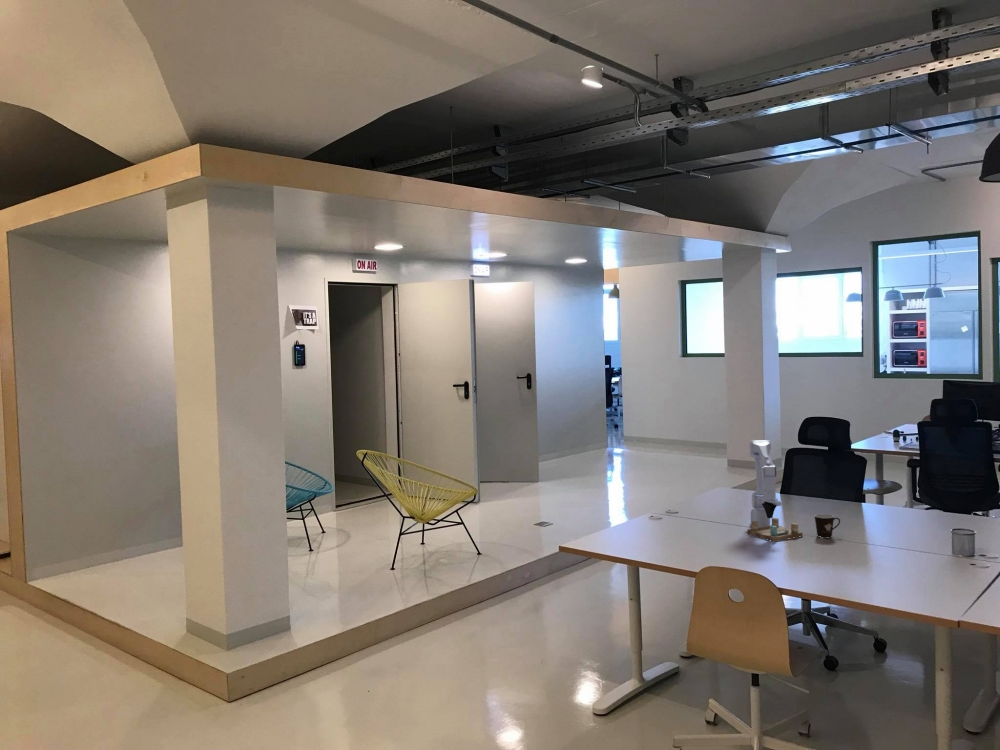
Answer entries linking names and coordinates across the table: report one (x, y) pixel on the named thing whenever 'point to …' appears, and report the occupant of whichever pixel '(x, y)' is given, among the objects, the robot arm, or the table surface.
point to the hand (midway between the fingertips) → (769, 517)
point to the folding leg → (774, 531)
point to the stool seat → (765, 531)
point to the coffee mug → (825, 524)
